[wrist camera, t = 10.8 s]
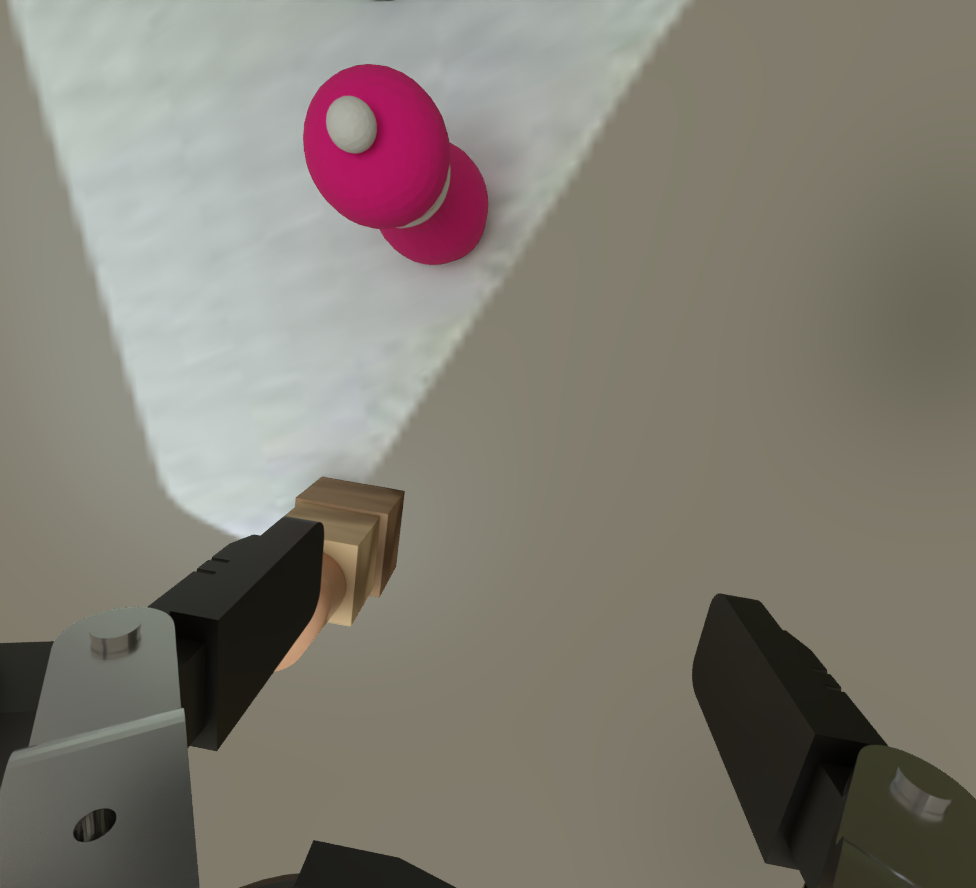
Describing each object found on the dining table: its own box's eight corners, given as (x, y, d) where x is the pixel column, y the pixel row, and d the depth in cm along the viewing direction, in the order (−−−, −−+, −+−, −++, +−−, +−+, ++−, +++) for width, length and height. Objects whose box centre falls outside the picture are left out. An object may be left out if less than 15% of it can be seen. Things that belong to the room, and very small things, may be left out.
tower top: (301, 502, 38) (267, 529, 34) (380, 516, 38) (357, 545, 33) (297, 574, 40) (264, 610, 35) (373, 588, 40) (350, 626, 35)
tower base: (322, 476, 43) (295, 497, 38) (404, 490, 43) (388, 514, 38) (317, 552, 45) (291, 581, 40) (396, 566, 45) (379, 597, 40)
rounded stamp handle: (266, 549, 34) (212, 586, 28) (341, 545, 34) (303, 581, 28) (275, 622, 34) (225, 673, 28) (349, 619, 34) (314, 669, 28)
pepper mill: (392, 266, 38) (247, 223, 19) (394, 157, 36) (235, -12, 17) (489, 272, 38) (442, 235, 19) (496, 162, 36) (452, -6, 17)
